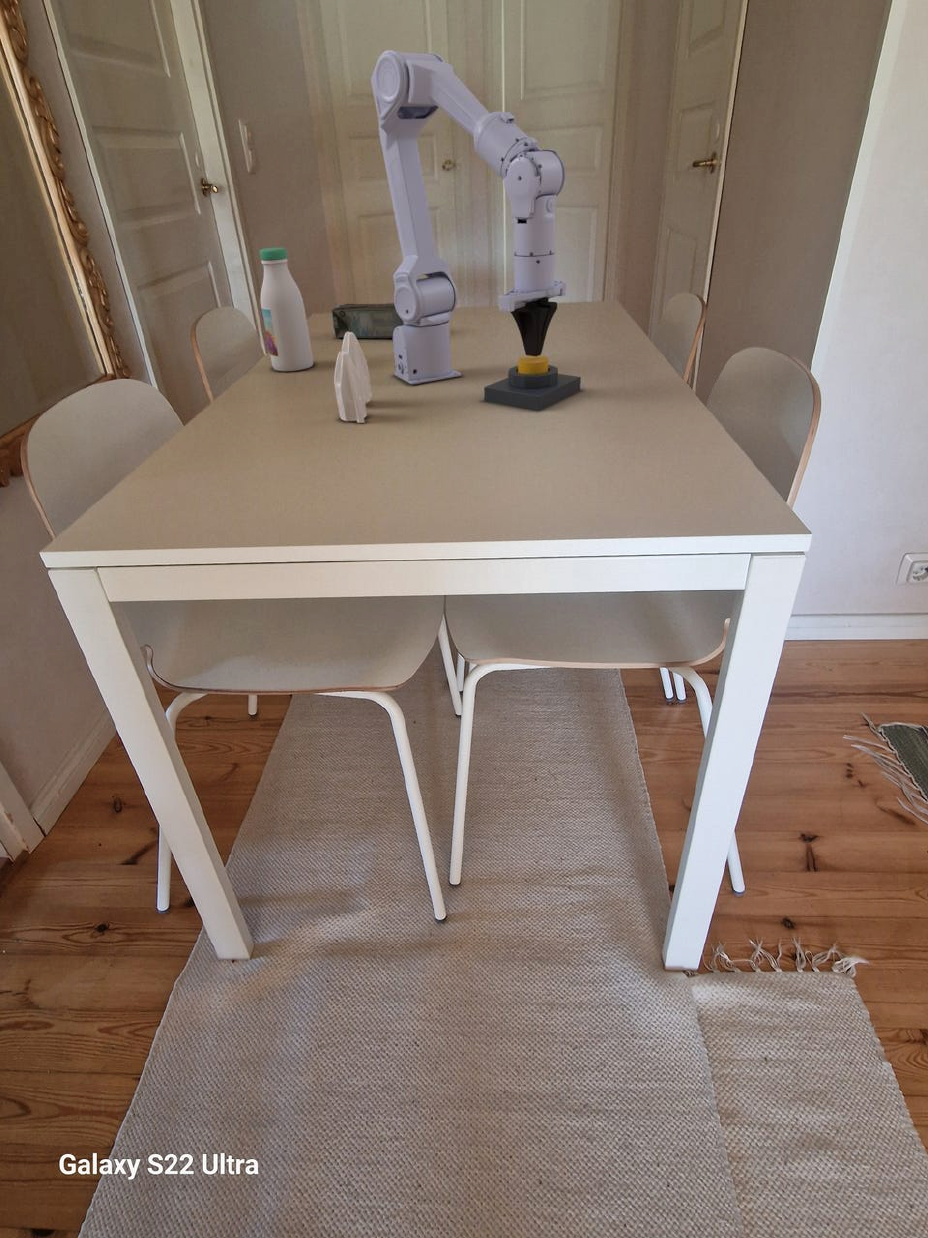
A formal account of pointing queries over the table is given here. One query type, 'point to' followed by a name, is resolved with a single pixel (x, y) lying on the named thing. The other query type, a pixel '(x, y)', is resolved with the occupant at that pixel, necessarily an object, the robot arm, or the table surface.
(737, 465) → the table surface
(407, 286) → the robot arm
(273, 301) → the milk bottle
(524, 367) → the button
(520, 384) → the grey button base
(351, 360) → the white pointed piece
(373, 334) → the beverage carton
